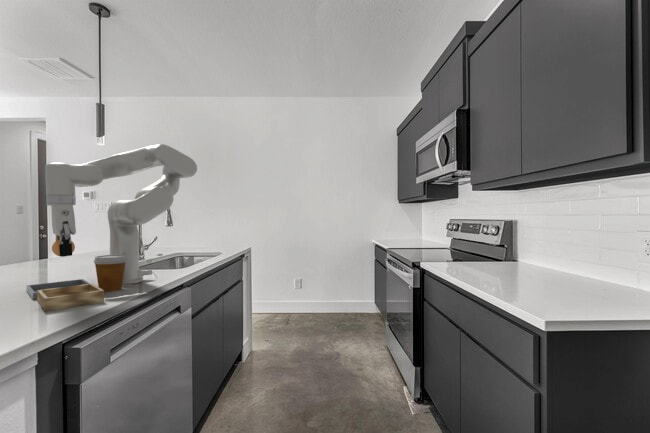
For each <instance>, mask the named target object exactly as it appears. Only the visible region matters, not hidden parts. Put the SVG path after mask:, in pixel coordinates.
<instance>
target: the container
mask: <svg viewBox="0 0 650 433" xmlns="http://www.w3.org/2000/svg"><path fill="white" fill-rule="evenodd" d="M85 284H92V283H90V282H89V281H87V280H85V279H84V278H81V279H79V278H78V279H72V280H70V279H69V280H63V281H62V280H61V281H53V282H46V283H37V284H27V285H26V293H27V294H28V295H29V297H30V298H31V299H32V300H33V301H34V300H37V290H44V289H52V288H60V287H68V286H76V285H85Z"/></svg>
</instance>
